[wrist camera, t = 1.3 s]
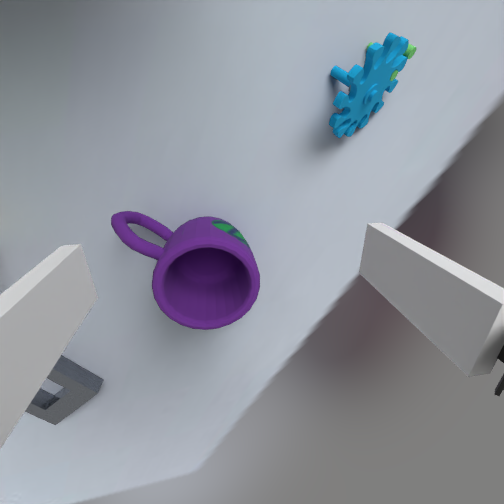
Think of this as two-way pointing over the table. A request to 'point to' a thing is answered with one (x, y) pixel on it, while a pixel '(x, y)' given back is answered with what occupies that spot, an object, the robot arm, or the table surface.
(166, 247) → the mug
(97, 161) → the table surface
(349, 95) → the gear
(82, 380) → the rail
